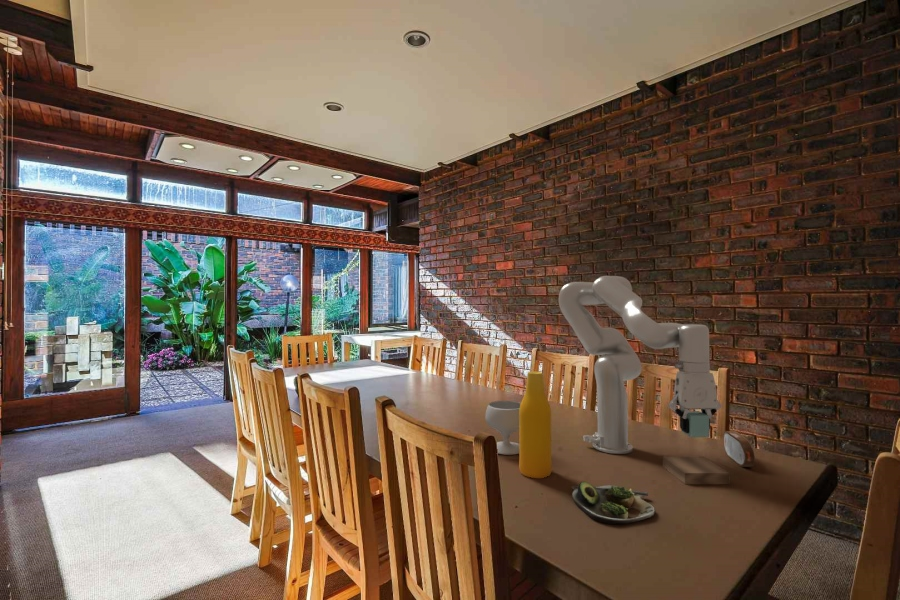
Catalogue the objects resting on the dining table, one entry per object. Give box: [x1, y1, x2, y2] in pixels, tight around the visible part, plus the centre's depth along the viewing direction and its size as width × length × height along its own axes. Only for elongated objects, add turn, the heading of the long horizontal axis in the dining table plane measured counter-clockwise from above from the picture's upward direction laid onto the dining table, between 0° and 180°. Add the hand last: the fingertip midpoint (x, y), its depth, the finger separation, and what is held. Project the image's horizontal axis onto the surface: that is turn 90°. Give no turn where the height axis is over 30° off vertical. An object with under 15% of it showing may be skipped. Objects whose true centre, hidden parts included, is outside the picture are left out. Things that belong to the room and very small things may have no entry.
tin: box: [722, 430, 756, 468], centre depth 129 cm, size 15×3×8 cm, turn 168°
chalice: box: [484, 400, 521, 456], centre depth 141 cm, size 14×14×15 cm
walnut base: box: [662, 456, 731, 485], centre depth 120 cm, size 12×12×3 cm
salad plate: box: [570, 481, 656, 525], centre depth 102 cm, size 19×18×5 cm
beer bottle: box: [518, 371, 552, 479], centre depth 122 cm, size 9×9×29 cm
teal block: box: [681, 410, 710, 438], centre depth 119 cm, size 5×5×6 cm
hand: (695, 430), depth 119 cm, fingers closed on teal block, 5 cm apart
